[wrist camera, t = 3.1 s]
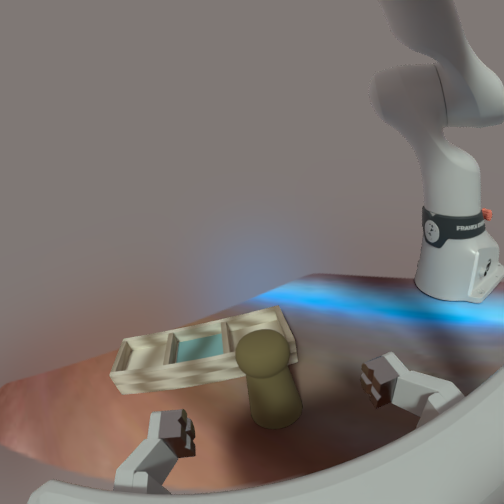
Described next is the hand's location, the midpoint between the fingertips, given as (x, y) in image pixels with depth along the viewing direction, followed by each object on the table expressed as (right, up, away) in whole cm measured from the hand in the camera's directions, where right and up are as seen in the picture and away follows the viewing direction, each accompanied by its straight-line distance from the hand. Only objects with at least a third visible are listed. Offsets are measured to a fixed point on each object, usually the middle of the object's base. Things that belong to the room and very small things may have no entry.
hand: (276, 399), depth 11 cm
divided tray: (-8, -10, +27) cm, 30 cm away
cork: (+2, -12, +17) cm, 21 cm away
